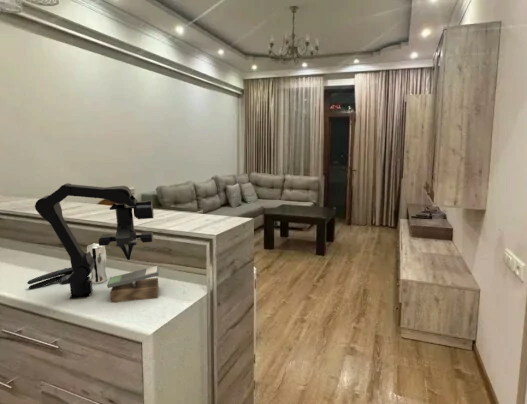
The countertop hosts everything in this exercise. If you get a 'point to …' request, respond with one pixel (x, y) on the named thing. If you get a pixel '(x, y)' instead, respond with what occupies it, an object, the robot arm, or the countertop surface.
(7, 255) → the countertop surface
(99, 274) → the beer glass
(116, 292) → the switch base
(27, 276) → the countertop surface
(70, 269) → the can opener
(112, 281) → the grey flat panel
